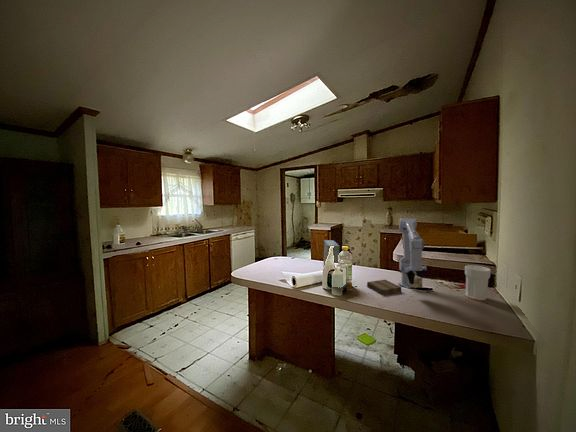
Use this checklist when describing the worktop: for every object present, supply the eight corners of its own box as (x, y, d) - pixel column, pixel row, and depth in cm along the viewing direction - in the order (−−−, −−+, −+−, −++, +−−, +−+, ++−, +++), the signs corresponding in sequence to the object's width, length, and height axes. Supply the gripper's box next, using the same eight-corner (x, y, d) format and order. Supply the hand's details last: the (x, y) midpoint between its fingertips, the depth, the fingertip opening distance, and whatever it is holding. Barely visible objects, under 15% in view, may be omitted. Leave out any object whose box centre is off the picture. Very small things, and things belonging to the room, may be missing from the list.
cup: (458, 295, 135) (460, 266, 133) (470, 292, 139) (472, 264, 138) (480, 303, 124) (482, 272, 123) (493, 299, 129) (495, 269, 127)
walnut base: (384, 283, 154) (384, 279, 153) (401, 292, 140) (401, 287, 140) (367, 286, 149) (367, 282, 149) (382, 295, 136) (382, 290, 136)
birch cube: (414, 283, 136) (415, 275, 135) (422, 286, 131) (422, 278, 131) (408, 284, 134) (408, 276, 134) (415, 287, 130) (415, 279, 129)
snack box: (339, 283, 156) (340, 245, 154) (326, 283, 156) (327, 245, 154) (334, 272, 177) (334, 239, 175) (322, 272, 178) (322, 239, 176)
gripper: (411, 263, 125) (410, 287, 127) (431, 260, 130) (430, 283, 131) (401, 259, 132) (400, 282, 133) (421, 257, 137) (420, 279, 138)
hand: (415, 283), depth 133 cm, fingers closed on birch cube, 5 cm apart
